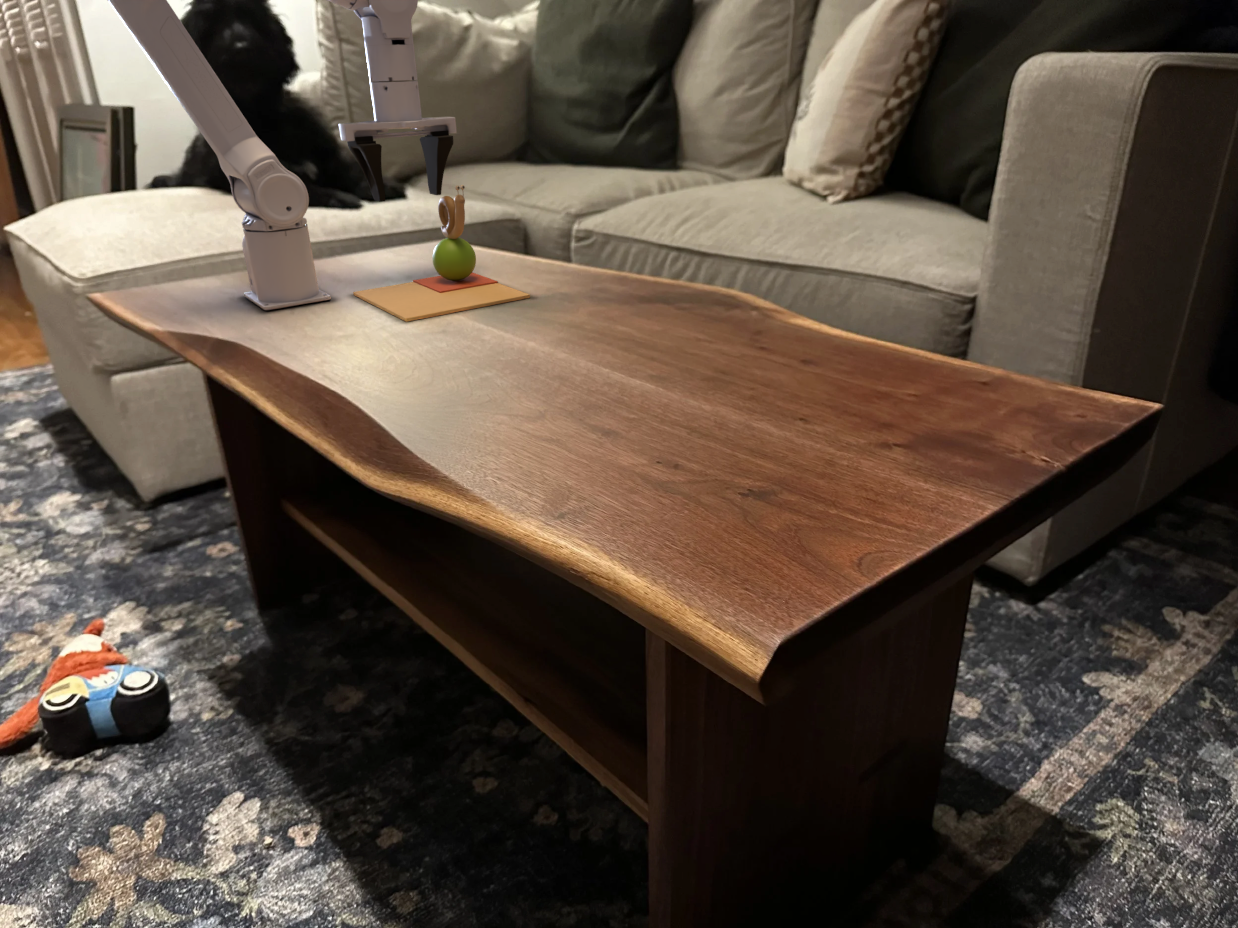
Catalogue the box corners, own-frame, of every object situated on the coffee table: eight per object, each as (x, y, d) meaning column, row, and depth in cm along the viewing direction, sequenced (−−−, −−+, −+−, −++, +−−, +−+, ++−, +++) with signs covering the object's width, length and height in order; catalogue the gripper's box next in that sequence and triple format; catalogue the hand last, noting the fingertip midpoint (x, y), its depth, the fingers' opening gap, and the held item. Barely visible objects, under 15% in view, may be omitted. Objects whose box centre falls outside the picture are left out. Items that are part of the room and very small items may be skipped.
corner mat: (353, 295, 108) (352, 290, 108) (468, 275, 117) (468, 271, 116) (406, 322, 97) (405, 316, 96) (530, 297, 105) (530, 292, 105)
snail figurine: (451, 289, 107) (440, 187, 102) (427, 280, 112) (416, 183, 107) (489, 281, 110) (480, 183, 105) (465, 273, 115) (455, 178, 110)
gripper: (347, 84, 99) (365, 207, 105) (462, 79, 106) (473, 194, 112) (326, 83, 104) (344, 201, 110) (437, 79, 112) (449, 189, 117)
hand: (408, 197), depth 111 cm, fingers open, 7 cm apart
